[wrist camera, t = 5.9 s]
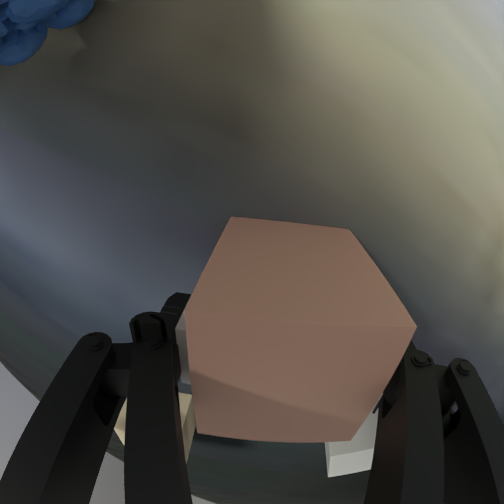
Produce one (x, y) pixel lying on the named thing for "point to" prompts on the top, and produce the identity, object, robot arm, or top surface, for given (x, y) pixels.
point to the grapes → (34, 24)
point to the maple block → (186, 421)
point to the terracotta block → (291, 334)
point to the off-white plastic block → (353, 449)
